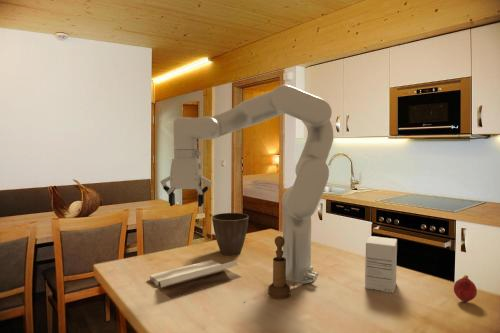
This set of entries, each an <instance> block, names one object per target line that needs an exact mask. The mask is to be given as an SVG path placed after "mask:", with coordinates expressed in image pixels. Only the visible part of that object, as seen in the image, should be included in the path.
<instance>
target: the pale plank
mask: <svg viewBox="0 0 500 333" xmlns="http://www.w3.org/2000/svg"><path fill="white" fill-rule="evenodd" d="M220 264H221V265H218V266H214V267H210V268H206V269H203V270H199V271H195V272H191V273H188V274H184V275H180V276H177V277H173V278H170V279H167V280H164V281H161V282H160V284H161V287H163V286H166V285H170V284H174V283H177V282H181V281H184V280H188V279H191V278H195V277H199V276H202V275H206V274H209V273H213V272H216V271H220V270H223V269H226V270H228V269H230V268H233V267H236V266H239V265H238V261H237V260H232V261H229V262H225V263H220Z"/></svg>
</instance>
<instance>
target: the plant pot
mask: <svg viewBox="0 0 500 333" xmlns="http://www.w3.org/2000/svg"><path fill="white" fill-rule="evenodd" d="M211 219H212V227H213V231H214V236H215V239H216V242H217V245H218V248H219V251H220V254H221V255H225V256H235V255H236V256H238V255H241V253H242V250H243V247H244V243H245V240H246V235H247V232H248V225H249V215H248V214H245V213H241V212H223V213H217V214H213V215H212V217H211Z"/></svg>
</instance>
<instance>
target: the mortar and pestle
mask: <svg viewBox="0 0 500 333" xmlns="http://www.w3.org/2000/svg"><path fill="white" fill-rule="evenodd" d="M284 243H285V240H284V238H283V236H281V235H280V236H276V237H275V238H274V244H275V247H277V249H276V250H275V254H276V257H273V258H272V283H271V284H270V285H269V286H268V292H267V293H268V297H270V298H272V299H277V300H283V299H287V298H289V297H290V296H291V286H290V285H289V284H288V283H287V282H286V281H287V280H286V259H285V258H283V245H284Z"/></svg>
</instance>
